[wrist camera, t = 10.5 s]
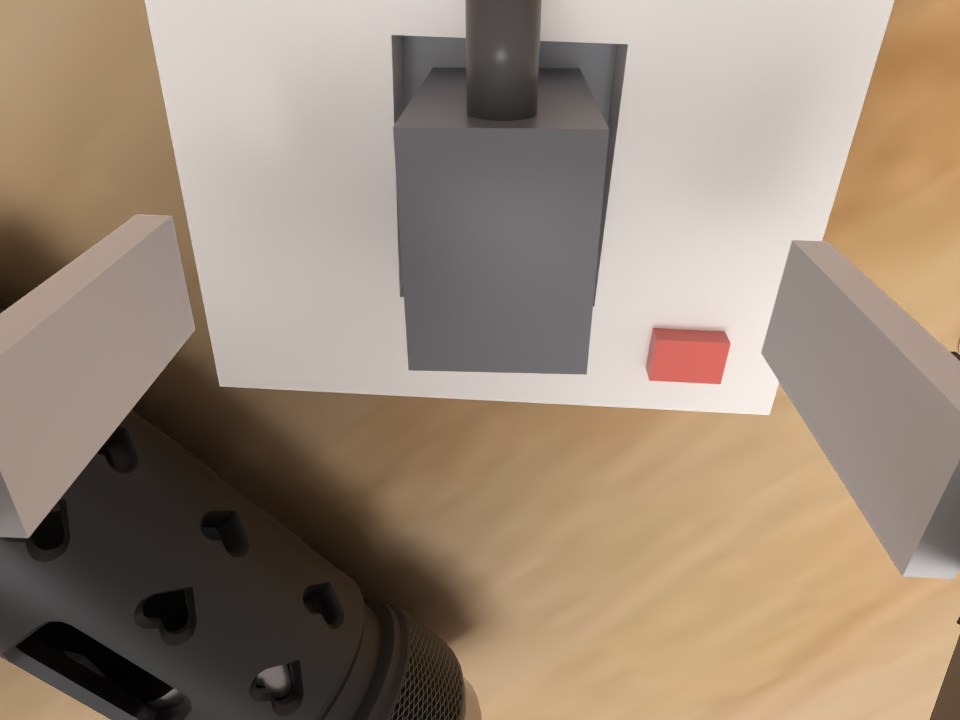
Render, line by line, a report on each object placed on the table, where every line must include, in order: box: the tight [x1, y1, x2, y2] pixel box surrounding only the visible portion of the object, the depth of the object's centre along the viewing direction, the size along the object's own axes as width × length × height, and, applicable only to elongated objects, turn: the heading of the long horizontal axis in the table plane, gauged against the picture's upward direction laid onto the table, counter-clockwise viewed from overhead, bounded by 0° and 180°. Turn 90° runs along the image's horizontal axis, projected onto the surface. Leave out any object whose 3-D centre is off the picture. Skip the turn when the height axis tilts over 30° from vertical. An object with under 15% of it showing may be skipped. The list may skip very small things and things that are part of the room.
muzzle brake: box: [0, 308, 482, 720], centre depth 28 cm, size 10×28×10 cm, turn 40°
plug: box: [393, 0, 609, 375], centre depth 19 cm, size 8×4×8 cm, turn 0°
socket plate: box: [145, 0, 894, 415], centre depth 22 cm, size 20×16×3 cm
